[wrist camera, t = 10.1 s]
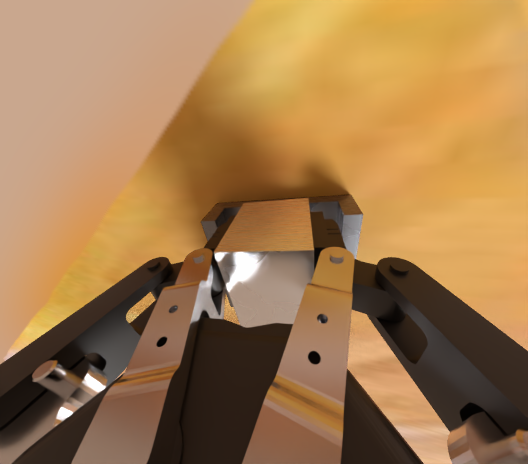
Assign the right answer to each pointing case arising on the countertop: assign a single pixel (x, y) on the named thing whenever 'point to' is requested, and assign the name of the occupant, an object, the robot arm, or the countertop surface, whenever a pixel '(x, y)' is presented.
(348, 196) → the grey channel block
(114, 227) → the countertop surface
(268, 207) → the shiny metal block
